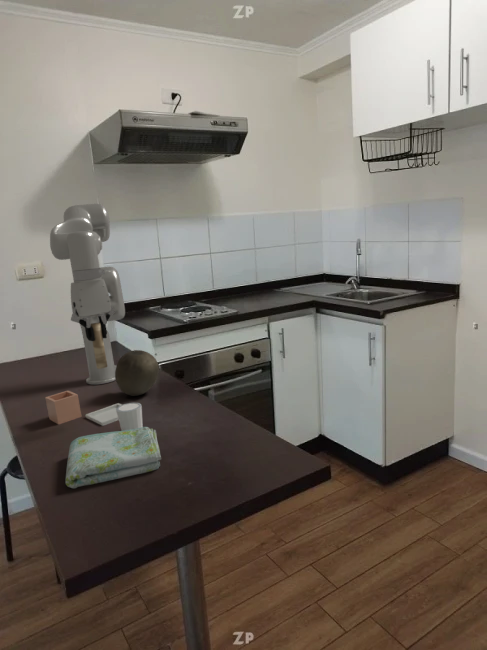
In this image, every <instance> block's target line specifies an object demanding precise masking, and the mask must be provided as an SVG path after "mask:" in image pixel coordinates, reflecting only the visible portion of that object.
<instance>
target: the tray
mask: <svg viewBox="0 0 487 650" xmlns="http://www.w3.org/2000/svg"><path fill="white" fill-rule="evenodd" d="M121 405H123V404H122V403H119V402H118V403H115V404H112V405H109V406H106V407H103V408H101V409H97V410H95V411H92V412H89V413H86V414H85V418H86V419H88V420H90V421H92V422H94V423H96V424H98V425H100V426H101V427H102V426H106V425H110V424H112V423H115V422H117V421H119V419H118V415H117V412H116V408H117V407H119V406H121Z"/></svg>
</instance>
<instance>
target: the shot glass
mask: <svg viewBox="0 0 487 650" xmlns="http://www.w3.org/2000/svg"><path fill="white" fill-rule="evenodd" d="M116 412H117V415H118V419H119V420H118V422H119V426H120V429H121V430H120V431H124V430H132V429H137V428H141V427H144V426H143V407H142V404H141V403H140V402H129V403H124V404H122V405H121V406H119V407H117V408H116Z"/></svg>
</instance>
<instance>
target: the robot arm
mask: <svg viewBox="0 0 487 650" xmlns="http://www.w3.org/2000/svg"><path fill="white" fill-rule="evenodd" d="M108 212H109V211H108V210H107V208H106V207H105V206H104V205H103V204H101V203H88V204H75V205H72V206H69V207H68V208H66V209H65V211H64V212H63V222H60V223H59V224H56V225H55V226H54V227H53V228H51V230H50V233H49V246H50V251H51V254H52V256H53V257H54V258H55V259H57V260H59V261H60V260H61V261H62V260H64V261H65V260H69V261H70V267H71V272H72V273H71V274H72V279H73V282H71V283H70V303H71V304H70V305H71V313H72V314H71V317H70V321H71V322H74V323H77V324H79V326H80V329H81V330H80V331H81V335H82V340H83V345H84V351H85V356H86V362H87V369H88V373H89V377H87V378H86V379H85V381H86V384H88V385H93V386H94V385H103V384H108V383H111V382H114V381H116V378H115V370H116V367H117V364H115V362H114V356H113V349H112V344H111V337H110V333H109V331H108V329H107V324H108V323H109V322H112V321H114V322H115V321H118V320H119V321H120V320H122V319H124V318H125V316H126V307H125V301H124V297H123V296H124V295H123V290H122V285H121V278H120V275H119V273H118V270H117V269H116V268H115V267H114V266H104V267H103V266H100V262H99V254H100V253H101V251H102V250H103V242H107V241H108V240H109V239H110V235H111V229H110V228H111V227H110V225H111V224H110V216H109V213H108ZM92 323H100V324H101V330H102V336H103V342H104V348H105V354H106V360H107V367H106V368H101V369H98V368H97V366H96V360H95V354H94V348H93V342H92V341H95V336H94V330H93V327H91V324H92Z"/></svg>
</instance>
